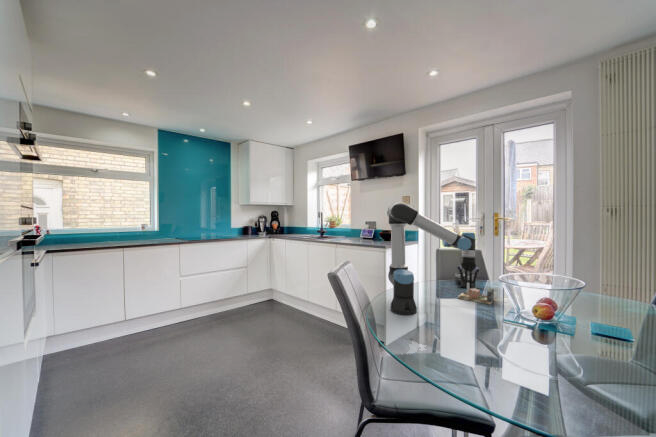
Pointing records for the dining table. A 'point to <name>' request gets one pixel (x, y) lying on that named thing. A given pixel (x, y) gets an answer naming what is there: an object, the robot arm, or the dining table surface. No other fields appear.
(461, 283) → the camera
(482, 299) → the scale board
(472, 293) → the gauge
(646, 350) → the dining table surface
